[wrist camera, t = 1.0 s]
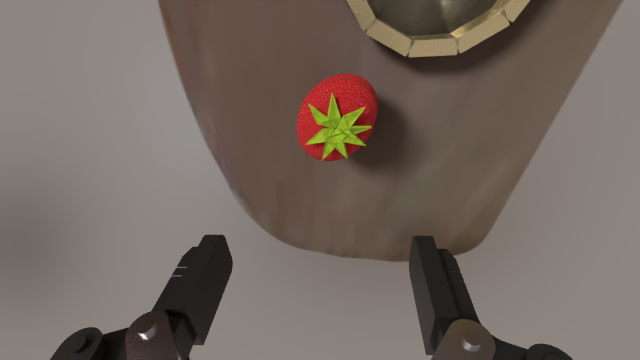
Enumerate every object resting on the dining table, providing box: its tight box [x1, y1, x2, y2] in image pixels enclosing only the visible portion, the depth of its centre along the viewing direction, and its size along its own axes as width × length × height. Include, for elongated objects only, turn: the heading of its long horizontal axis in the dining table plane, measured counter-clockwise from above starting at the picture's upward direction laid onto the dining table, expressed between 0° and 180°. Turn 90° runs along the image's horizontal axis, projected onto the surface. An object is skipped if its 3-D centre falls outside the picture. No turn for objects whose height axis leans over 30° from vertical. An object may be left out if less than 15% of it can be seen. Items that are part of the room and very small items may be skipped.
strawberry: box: [297, 74, 378, 161], centre depth 25 cm, size 6×8×10 cm
